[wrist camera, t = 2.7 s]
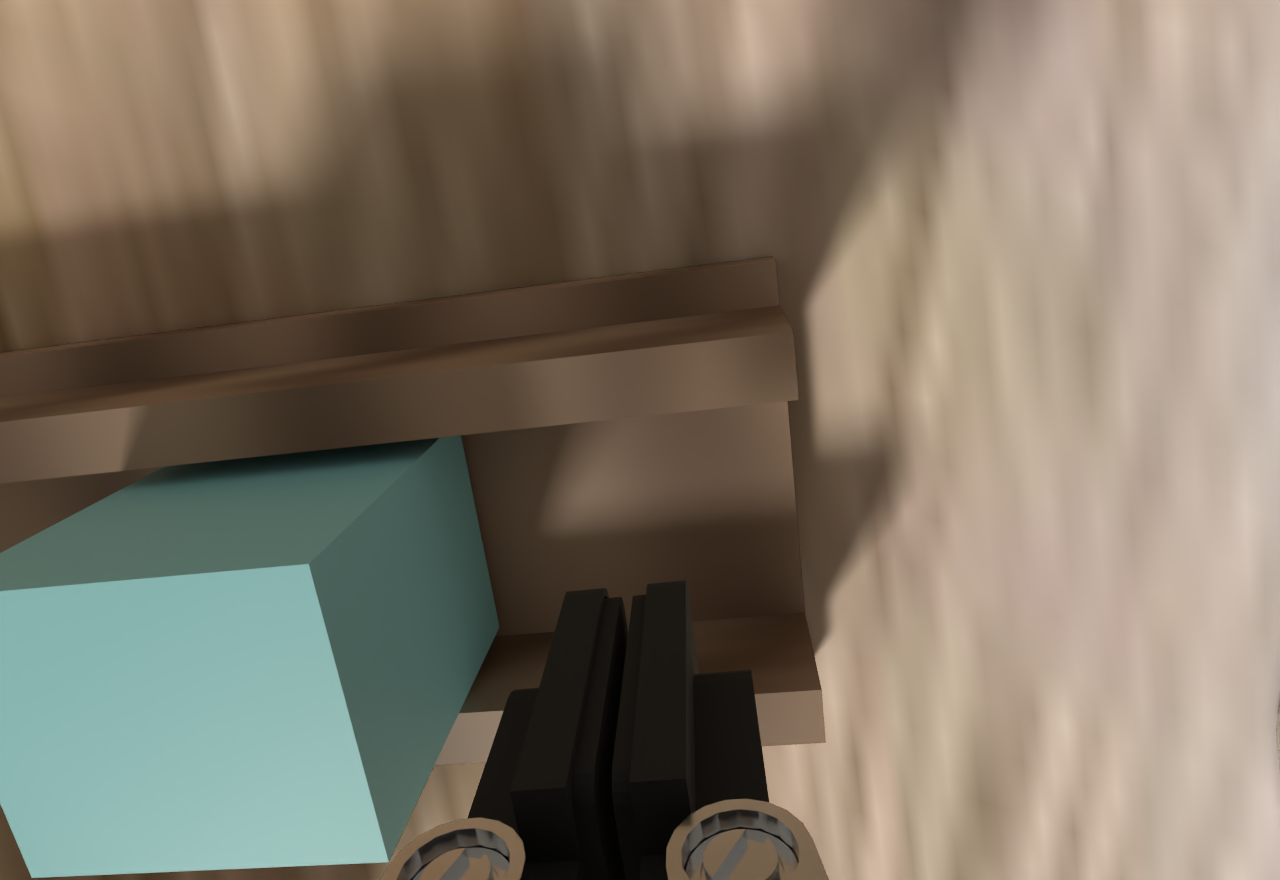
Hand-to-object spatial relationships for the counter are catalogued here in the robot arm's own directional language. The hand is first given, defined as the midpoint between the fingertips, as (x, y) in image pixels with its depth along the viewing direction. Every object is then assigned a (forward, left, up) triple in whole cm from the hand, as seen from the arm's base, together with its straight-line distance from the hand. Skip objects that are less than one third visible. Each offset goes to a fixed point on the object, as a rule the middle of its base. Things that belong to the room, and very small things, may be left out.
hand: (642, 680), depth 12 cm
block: (+7, 0, -7) cm, 10 cm away
